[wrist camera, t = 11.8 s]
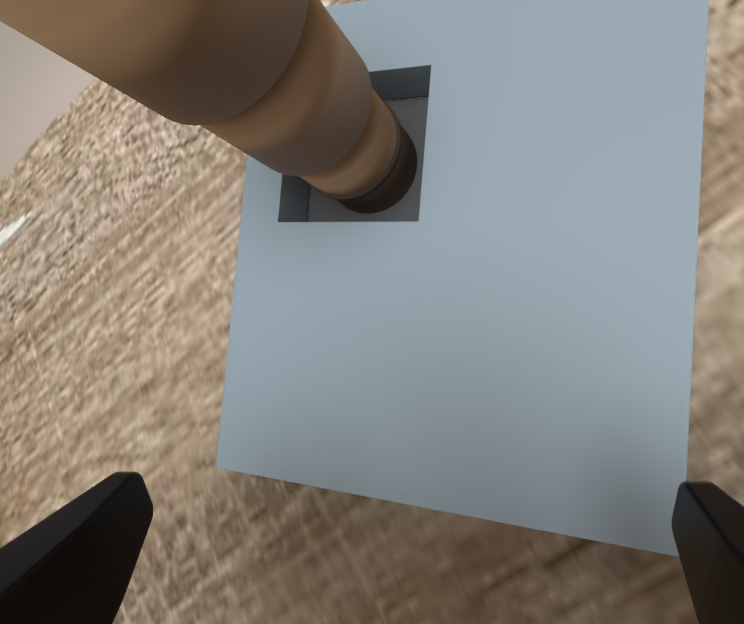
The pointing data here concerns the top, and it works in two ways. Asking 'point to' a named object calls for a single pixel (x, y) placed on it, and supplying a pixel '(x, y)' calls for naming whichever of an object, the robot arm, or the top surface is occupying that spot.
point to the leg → (242, 82)
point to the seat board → (490, 275)
